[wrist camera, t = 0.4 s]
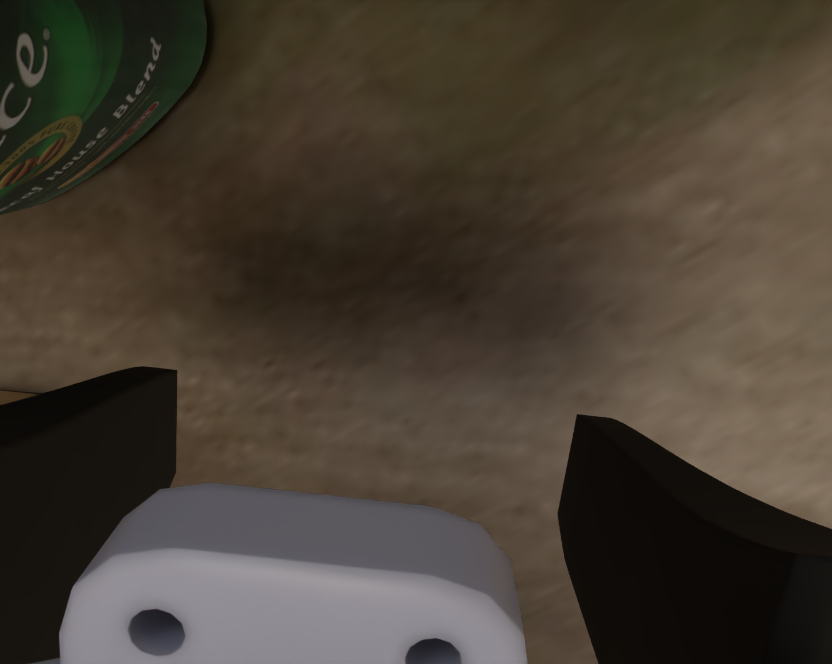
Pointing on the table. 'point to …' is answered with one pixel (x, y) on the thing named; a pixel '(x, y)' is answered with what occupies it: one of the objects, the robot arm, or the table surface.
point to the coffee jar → (86, 85)
